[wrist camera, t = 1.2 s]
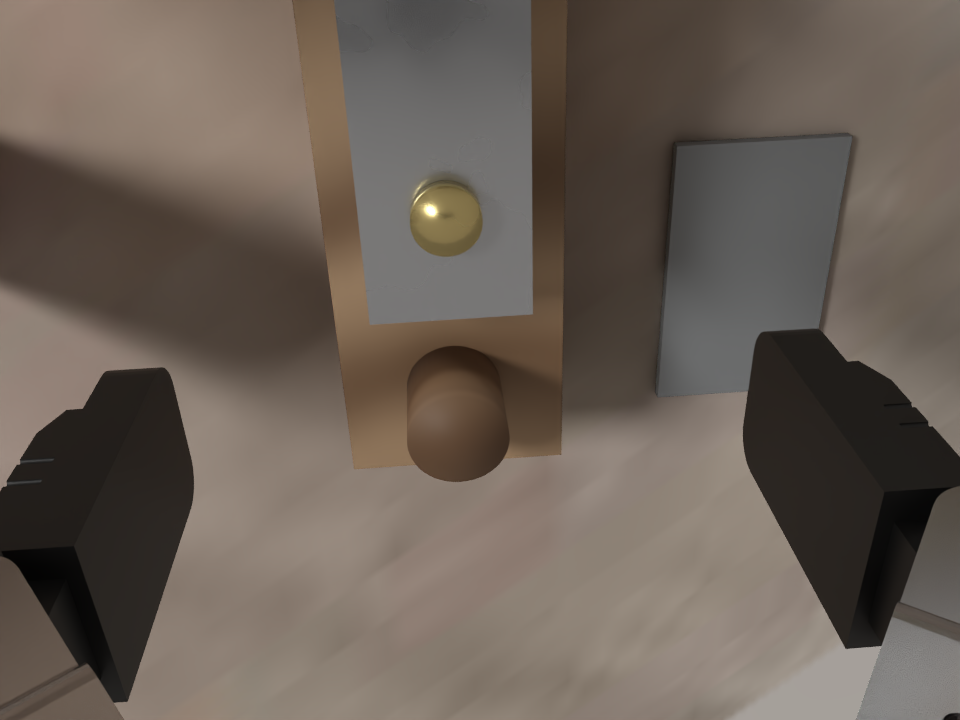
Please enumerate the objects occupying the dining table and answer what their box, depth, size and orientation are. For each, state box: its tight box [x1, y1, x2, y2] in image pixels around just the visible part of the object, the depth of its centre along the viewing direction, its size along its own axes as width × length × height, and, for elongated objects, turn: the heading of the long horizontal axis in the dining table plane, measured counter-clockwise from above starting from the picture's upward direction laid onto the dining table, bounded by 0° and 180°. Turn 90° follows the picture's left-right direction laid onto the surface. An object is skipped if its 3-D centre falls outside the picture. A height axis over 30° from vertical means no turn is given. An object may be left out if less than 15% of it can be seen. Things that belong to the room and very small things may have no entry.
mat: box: [655, 133, 853, 397], centre depth 33 cm, size 10×6×1 cm, turn 2°
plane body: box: [292, 0, 567, 482], centre depth 25 cm, size 20×7×10 cm, turn 2°
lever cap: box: [334, 0, 533, 325], centre depth 23 cm, size 9×4×4 cm, turn 2°
